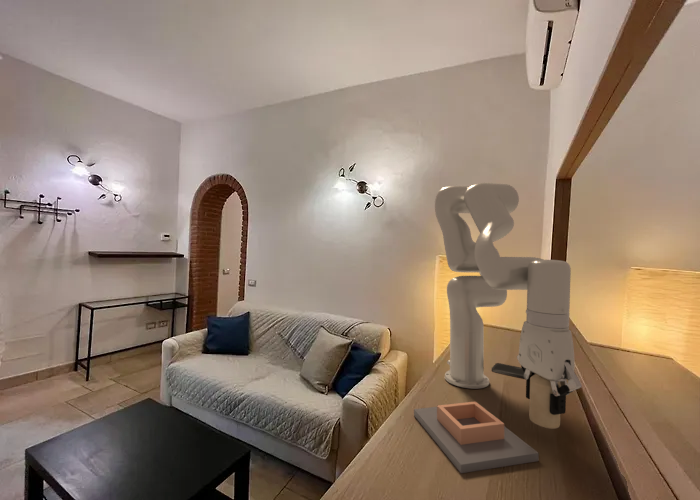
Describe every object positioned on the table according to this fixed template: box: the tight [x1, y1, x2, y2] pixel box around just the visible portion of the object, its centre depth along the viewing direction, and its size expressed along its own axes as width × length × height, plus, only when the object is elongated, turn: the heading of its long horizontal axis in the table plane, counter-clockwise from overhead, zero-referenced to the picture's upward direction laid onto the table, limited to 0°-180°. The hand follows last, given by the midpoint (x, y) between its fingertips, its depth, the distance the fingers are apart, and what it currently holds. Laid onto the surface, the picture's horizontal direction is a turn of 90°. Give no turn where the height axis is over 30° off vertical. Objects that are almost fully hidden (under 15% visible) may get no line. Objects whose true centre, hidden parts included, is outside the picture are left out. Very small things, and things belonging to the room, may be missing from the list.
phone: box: [491, 362, 526, 380], centre depth 102 cm, size 8×1×15 cm
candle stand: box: [413, 401, 540, 474], centre depth 67 cm, size 20×16×4 cm
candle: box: [528, 374, 561, 430], centre depth 66 cm, size 6×6×10 cm
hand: (544, 404), depth 66 cm, fingers closed on candle, 5 cm apart
